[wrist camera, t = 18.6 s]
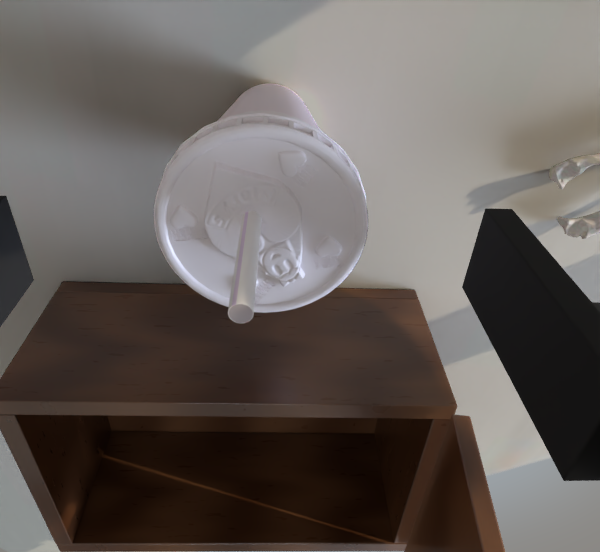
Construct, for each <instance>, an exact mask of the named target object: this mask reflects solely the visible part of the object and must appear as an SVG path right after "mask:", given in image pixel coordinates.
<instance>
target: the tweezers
mask: <svg viewBox="0 0 600 552" xmlns="http://www.w3.org/2000/svg"><path fill="white" fill-rule="evenodd" d="M593 165H600V153H599V154H594V155H585V156H579V157H575V158H572V159H569V160H566V161H564V162H562V163H560V164H558V165H555V166H553V167H551V168H550V171H549V177H550V179H551V180H553V181H554V182H556V183H557V185H558V187H559V188H560V189H563V188H564V186H565V184H566V183H567V182H568V181H570V180H572V179H573V178H574V177H576V176H577V175H579V174H581V173H583V172H584V171H585V170H586V169H587V168H588V167H590V166H593ZM557 220H558V222H559V224H560V225H561V226H562V227H563V229H564V231H565V234H567V235H569V236H572V237H579V236H581V237H582V239H585V238H587V237H589V236H592V235H594V234H598V233H600V211H598V212H595V213H593V214H590V215H587V216H583V217H579V218H574V219H567V218H562V217H557Z"/></svg>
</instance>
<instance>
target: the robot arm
mask: <svg viewBox="0 0 600 552" xmlns="http://www.w3.org/2000/svg"><path fill="white" fill-rule="evenodd" d="M33 280H34V279H33V276H32V273H31V270H30V267H29V264H28V261H27V258H26V255H25V252H24V249H23V246H22V243H21V240H20V237H19V234H18V231H17V228H16V225H15V221H14V218H13V215H12V212H11V209H10V206H9V203H8V200H7V197H6V196H0V327H1V325H2V324H3V322H4V321H5V320H6V318H7V317H8V315H9V314H10V313H11V311H12V310H13V308H14V307H15V306H16V304H17V303H18V301H19V300H20V299H21V297H22V296H23V294H24V293H25V292H26V290H27V289H28V287H29V286H30V285H31V283H32V282H33ZM462 288H463V289H464V291H465V293H466V295H467V297H468V299H469V301H470V303H471V305H472V307H473V309H474V310H475V312H476V314H477V316H478V318H479V320H480V322H481V324H482V326H483V328H484V330H485V331H486V333H487V335H488V337H489V339H490V341H491V343H492V345H493V347H494V349H495V350H496V352H497V354H498V356H499V358H500V360H501V362H502V364H503V366H504V368H505V370H506V371H507V373H508V375H509V377H510V379H511V381H512V383H513V385H514V387H515V389H516V391H517V392H518V394H519V396H520V398H521V400H522V402H523V404H524V406H525V408H526V410H527V412H528V413H529V415H530V417H531V419H532V421H533V423H534V425H535V427H536V429H537V431H538V432H539V434H540V436H541V438H542V440H543V442H544V444H545V446H546V448H547V450H548V452H549V453H550V455H551V457H552V459H553V461H554V463H555V465H556V467H557V469H558V471H559V472H560V474H561V476H562V478H563V480H564V481H566V480H567V481H568V480H569V481H574V480H577V481H580V480H600V303H592V302H591V301H590V300H589V299H588V298H587V296H586V295H585V294H584V293H583V292H582V291H581V289H580V288H579V287H578V286H577V285H576V284H575V282H574V281H573V280H572V279H571V278H570V277H569V275H568V274H567V273H566V272H565V271H564V270H563V268H562V267H561V266H560V265H559V264H558V263H557V261H556V260H555V259H554V258H553V257H552V256H551V254H550V253H549V252H548V251H547V250H546V248H545V247H544V246H543V245H542V244H541V243H540V241H539V240H538V239H537V238H536V237H535V236H534V234H533V233H532V232H531V231H530V230H529V229H528V227H527V226H526V225H525V224H524V223H523V222H522V220H521V219H520V218H519V217H518V216H517V215H516V213H515V212H514V211H513V210H512V209H485V212H484V215H483V219H482V222H481V226H480V229H479V232H478V236H477V239H476V242H475V246H474V249H473V253H472V256H471V259H470V263H469V266H468V269H467V273H466V276H465V280H464V283H463V286H462Z"/></svg>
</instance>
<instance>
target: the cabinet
mask: <svg viewBox="0 0 600 552" xmlns="http://www.w3.org/2000/svg"><path fill="white" fill-rule="evenodd" d="M228 308H229V307H226V306H223V305H220V304H218V303H216V302H213V301H211V300H209V299H207V298H206V297H204V296H202V295H201V294H199V293H197V292H196V291H194V290H193V289H192V288H191V287H189V286H188V285H179V284H135V283H91V282H62V283H61V285H60V286H59V288H58V290H57V292H55V294H54V296H53V297H52V299H51V300H50V302H49V303H48V305H47V307H46V308H45V310H44V311H43V313H42V314H41V316H40V317H39V319H38V321H37V322H36V324H35V325H34V327H33V328H32V330H31V332H30V333H29V335H28V336H27V338H26V339H25V341H24V343H23V344H22V346H21V347H20V349H19V350H18V352H17V353H16V355H15V357H14V358H13V360H12V361H11V363H10V364H9V366H8V368H7V369H6V371H5V372H4V374H3V375H2V377H1V379H0V430H1V432H2V434H3V436H4V438H5V440H6V442H7V444H8V446H9V448H10V450H11V453H12V455H13V457H14V459H15V461H16V463H17V465H18V467H19V469H20V471H21V473H22V475H23V477H24V479H25V481H26V483H27V485H28V487H29V489H30V492H31V494H32V496H33V498H34V500H35V502H36V504H37V506H38V508H39V510H40V512H41V514H42V516H43V518H44V520H45V522H46V524H47V526H48V528H49V531H50V533H51V535H52V537H53V539H54V541H55V543H56V544H57V546H58V548H59V550H60V551H61V552H106V551H393V550H394V551H396V550H397V551H402V550H403V551H405V548H406V545H407V542H408V540H409V537H410V534H411V531H412V528H413V525H414V522H415V520H416V517H417V514H418V511H419V508H420V505H421V502H422V500H423V497H424V494H425V491H426V488H427V485H428V482H429V480H430V477H431V474H432V471H433V468H434V465H435V462H436V460H437V457H438V454H439V451H440V448H441V445H442V442H443V440H444V437H445V434H446V431H447V428H448V425H449V422H450V420H451V417H452V415H454V414H455V411H456V409H457V404H456V401H455V398H454V395H453V393H452V390H451V387H450V384H449V382H448V379H447V376H446V373H445V371H444V368H443V365H442V362H441V360H440V357H439V354H438V352H437V349H436V346H435V343H434V341H433V338H432V335H431V332H430V330H429V327H428V324H427V321H426V319H425V316H424V313H423V310H422V308H421V305H420V302H419V300H418V297H417V294H416V291H415V290H398V289H354V288H335V289H334V290H333V291H331V292H330V293H328V294H327V295H325V296H324V297H322V298H320V299H318V300H316V301H314V302H312V303H310V304H307V305H305V306H302V307H299V308H295V309H291V310H286V311H280V312H268V313H262V312H254V315H253V318H252V319H251V320H250V321H249V322H247V323H236V322H234V321H232V320H231V319H230V318H229V316H228Z"/></svg>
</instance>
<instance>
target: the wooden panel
mask: <svg viewBox="0 0 600 552" xmlns="http://www.w3.org/2000/svg"><path fill="white" fill-rule="evenodd" d="M404 552H505V549H504V545H503V542H502V538H501V534H500V530H499V526H498V522H497V519H496V515H495V511H494V507H493V503H492V499H491V495H490V491H489V488H488V484H487V480H486V476H485V472H484V468H483V465H482V461H481V457H480V453H479V449H478V445H477V442H476V438H475V434H474V430H473V426H472V422H471V419H470V417H469V416H461V415H452V417H451V420H450V422H449V425H448V428H447V431H446V434H445V437H444V440H443V442H442V445H441V448H440V451H439V454H438V457H437V460H436V462H435V465H434V468H433V471H432V474H431V477H430V480H429V482H428V485H427V488H426V491H425V494H424V497H423V500H422V502H421V505H420V508H419V511H418V514H417V517H416V520H415V522H414V525H413V528H412V531H411V534H410V537H409V540H408V542H407V545H406V548H405V551H404Z"/></svg>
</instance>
